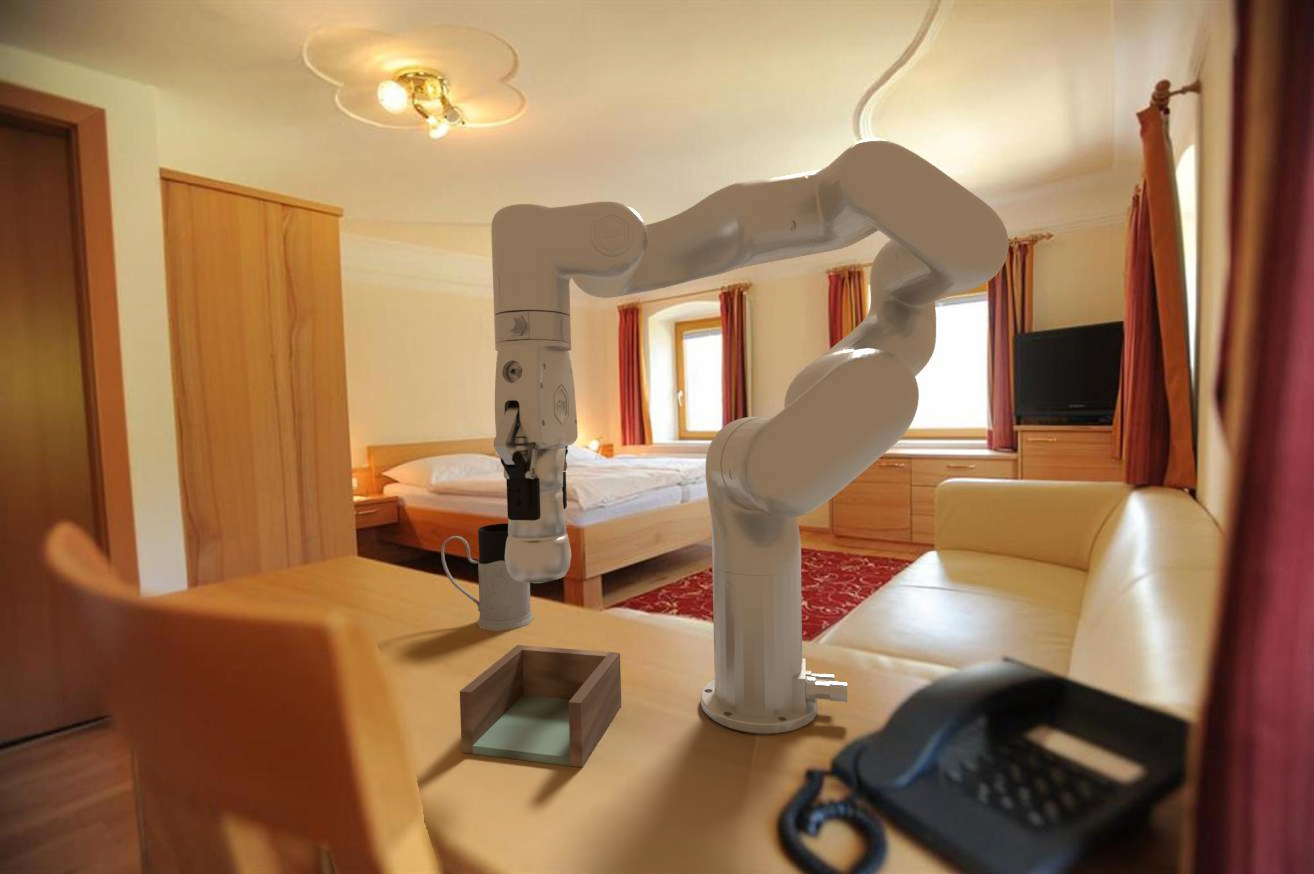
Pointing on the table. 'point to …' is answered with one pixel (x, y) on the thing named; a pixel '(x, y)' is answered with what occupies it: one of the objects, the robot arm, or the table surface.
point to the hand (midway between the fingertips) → (538, 512)
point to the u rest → (541, 705)
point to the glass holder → (496, 583)
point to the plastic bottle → (541, 524)
